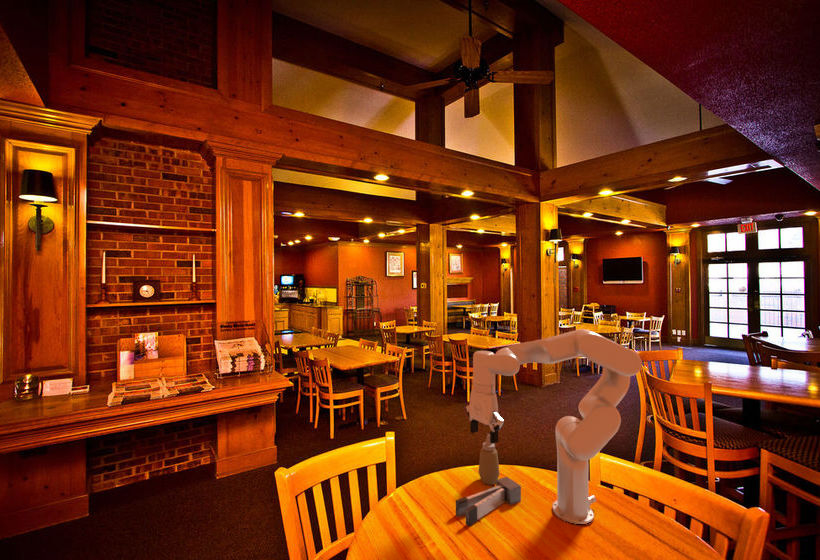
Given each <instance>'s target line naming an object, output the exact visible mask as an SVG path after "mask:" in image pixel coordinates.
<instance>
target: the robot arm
mask: <svg viewBox="0 0 820 560" xmlns="http://www.w3.org/2000/svg"><path fill="white" fill-rule="evenodd" d="M579 357H583V358H585V359H587V360H589V361H590V362H593V363H595V364H597V365H598V366H601V367H602V372H601V376H600V378H598V380H597V381H596V383H595V384H594V386H593V387H591V389H590V390H588V392H587V394H585V395H584V396H583V397H582V399H581V401H579V404H578V412H579V413H580V415H581V417H582V418H583V419H582V420H580V419H579V418H577V417H575V416H572V415H566V416H563V417H561V418H560V419H558V421H557V423H556V425H555V430H554V431H555V440H556V442H555V444H556V456H557V457H556V458H557V460H556V462H557V463H556V466H557V467H556V469H557V471H556V472H557V474H556V476H557V479H556V481H557V485H556V486H557V488H556V489H557V493H556V494H557V499H556V500H555V501H554V502H553V503H552V511H553V513H554V515H555V516H556V517H557V518H559V519H560V518H561V519H560V520H562V519H563V520H562V521H564V522H566V521H567V522H566V523H568V522H570V523H569V524H571V523H575V524H574V525H576V524H585V523H589V522H591V521H592V520H593V518H594V519H595V514H594V511H593V510H592V508H591V505H592V504H593V503H595V502H597V498H596V496H595V495H589V461H590V460H591V459H593V458H594V457H596V456H597V454H599V453H600V451H601V450H602V449H603V448H604V447H605V446H606V445H607V444H608V442H610V441H611V439H612V438H613V437H614V436H615V435H616V433H617V432H618V431H619V429H620V426H621V422H622V421H621V420H622V419H621V414H620V412H619V410H618V409H617V408H616V407H617V406H618V405H619V404H620V402H621V401H622V400H623V398H624V397H625V396H626V394H627V392H628V390H629V388H630V384H631V377H632V376H635V375H637V374H638V373H640V371H641V370H642V366H643V362H642V358H641V357H640V355H639V354H638V353H637V352H636V351H634V350H632V349H630V348H629V347H625V346H624V345H621V344H619V343H617V342H615V341H612V340H611V339H608V338H606V337H605V336H603V335H601V334H599V333H596V332H594V331H592V330H590V329H584V328H579V329H575V330H572V331H571V330H570V331H568V332H565V333H561V334H558V335H555V336H554V335H553V336H549V337H546V338H542V339H536V340H532V341H525V342H519V343H516V344H511V345H509V346H505V347H502V348H500V349H498V350H497V351H496V352H495V353H494V352H492V351H489V350H477V351H475V352H474V353H473V355H472V358H473V359H472V366H473V367H472V389H471V391H470V395H469V404H468V405H466V406H465V409H466V412H467V416H468V417H469V418H468V420H469V422H470V425H469V426H470V430H469V431H470V434H474V433H479V423H482V424H483V425H486V426H489V428H490V432H489V433H490V434H489V435H490V443H491V444H493V443H494V444H496V443H499V431H500V430H501V429H502V428H503V425H504V423H505V421H504V419H503V417H501V416H500V414H499V404H498V396H497V393H496V375H500V376H505V377H507V376H508V377H511V376H514V375H516V374H517V373H519V370H520V367H521V365H524V364H529V363H531V364H532V363H538V364H540V363H541V364H544V365H545V364H546V365H548V364H549V365H551V364H553V365H554V364H557V363H560V362H564V361H567V360H572V359H575V358H579ZM590 515H591V516H590ZM593 521H594V520H593ZM593 521H592V522H593ZM592 522H591V523H592ZM589 524H590V523H589Z"/></svg>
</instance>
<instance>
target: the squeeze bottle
mask: <svg viewBox="0 0 820 560" xmlns="http://www.w3.org/2000/svg"><path fill="white" fill-rule="evenodd" d="M479 452H480V453H479V461H478V462H479V464H478V475H479V477H480V481H481V482H482V483H483V484H484V485H488V486H493V485H496V480H498V479H499V476H500V465H499V456H498V455H499V454H498V451H497V449H496V443H493V444H491V443H490V434H486V440H485V441H484V442H483V443H482V448H481V449H480V451H479Z"/></svg>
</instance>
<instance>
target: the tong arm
mask: <svg viewBox="0 0 820 560" xmlns="http://www.w3.org/2000/svg"><path fill="white" fill-rule="evenodd" d="M504 503H506V502H505V495H504V489H503V488H501V489H499V490H497V491H496V492H494V493H492V494H491V495H489V496H488V497H486V498H484V499H483V500H481V501H479V502H478V503H476V504H474V505H472V506H471V507H469V508H467V509H466V515H465V524H466V525H467V526H468V527H470V526H472V525H473V524H475V523H476V522H478V521H479V520H480V519H482V517H484V516H486V515H487V514H489V513H491V512H492V511H493V510H495V509H497V508H498V507H499V506H501V505H503V504H504Z"/></svg>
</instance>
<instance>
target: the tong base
mask: <svg viewBox="0 0 820 560" xmlns="http://www.w3.org/2000/svg"><path fill="white" fill-rule="evenodd" d="M495 485H496V486H493V487H491V488H488V489H486V490H483V491H479V492H477V493H474V494H472V495H468V496H464V497H461V498H459V499H456V500H455V516H456V517H457V518H460V517H463V516H466V509H467V508H469V507H471V506H472V505H474V504H476V503H478V502H479V501H481V500H483V499H484V498H486V497H488V496H489V495H491V494H492V493H494V492H496V491H497V490H499V489H501V488H503V489H504V495H505V502H504V503H506V504H507V505H509V506H513V505H515V504H517V503H518V504H519V503H520V502H521V501H522V500H521V499H522V496H521V495H522V494H521V493H522V486H521V484H519V483H517V482H516V481H514V480H513V479H511V478H509V477H508V476H505V477H501V478H498V480H496V484H495Z"/></svg>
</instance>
